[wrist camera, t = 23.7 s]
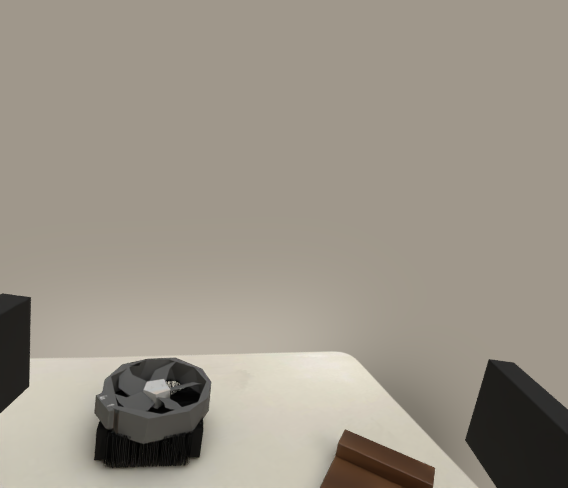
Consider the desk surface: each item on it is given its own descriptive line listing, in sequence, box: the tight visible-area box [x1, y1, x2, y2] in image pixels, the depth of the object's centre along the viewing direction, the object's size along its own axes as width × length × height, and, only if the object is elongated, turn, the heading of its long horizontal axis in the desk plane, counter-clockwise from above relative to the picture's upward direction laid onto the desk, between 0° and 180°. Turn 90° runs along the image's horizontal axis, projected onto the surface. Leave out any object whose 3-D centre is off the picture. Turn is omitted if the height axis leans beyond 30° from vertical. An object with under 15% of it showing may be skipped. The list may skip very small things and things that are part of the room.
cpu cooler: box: [94, 358, 211, 468], centre depth 39 cm, size 10×6×10 cm
